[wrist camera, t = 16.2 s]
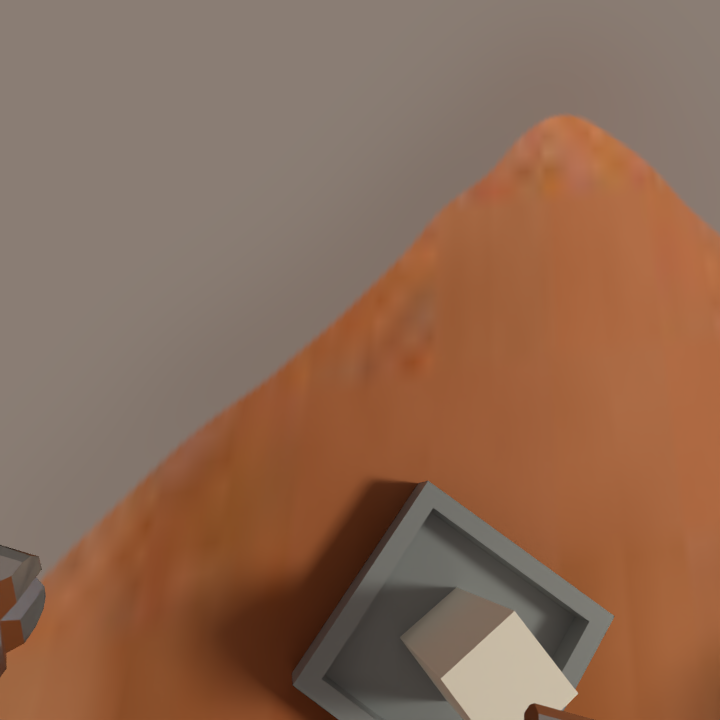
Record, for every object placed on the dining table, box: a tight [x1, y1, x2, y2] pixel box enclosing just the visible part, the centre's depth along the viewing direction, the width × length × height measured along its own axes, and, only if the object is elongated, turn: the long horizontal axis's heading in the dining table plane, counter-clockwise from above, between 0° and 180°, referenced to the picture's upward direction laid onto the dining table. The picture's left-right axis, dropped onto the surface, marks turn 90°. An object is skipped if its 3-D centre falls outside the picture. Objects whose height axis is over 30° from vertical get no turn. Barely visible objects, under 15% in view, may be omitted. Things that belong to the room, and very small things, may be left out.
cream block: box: [400, 587, 578, 720], centre depth 30 cm, size 4×4×9 cm
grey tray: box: [292, 481, 614, 720], centre depth 34 cm, size 12×12×2 cm
